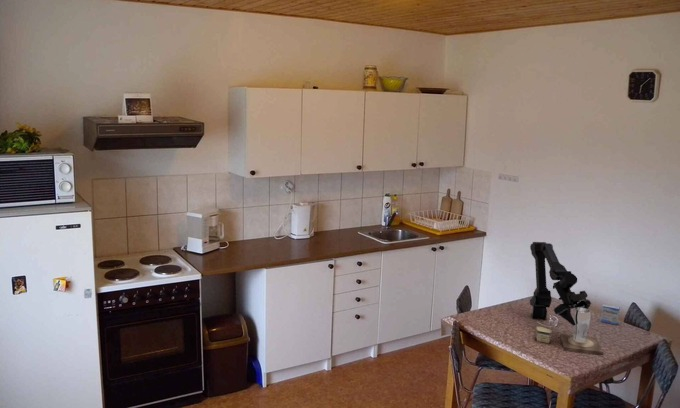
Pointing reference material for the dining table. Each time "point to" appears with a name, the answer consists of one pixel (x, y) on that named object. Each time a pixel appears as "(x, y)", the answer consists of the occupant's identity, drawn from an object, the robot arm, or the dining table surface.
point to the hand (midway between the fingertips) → (581, 323)
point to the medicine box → (610, 314)
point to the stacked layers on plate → (543, 334)
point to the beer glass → (581, 324)
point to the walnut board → (581, 345)
